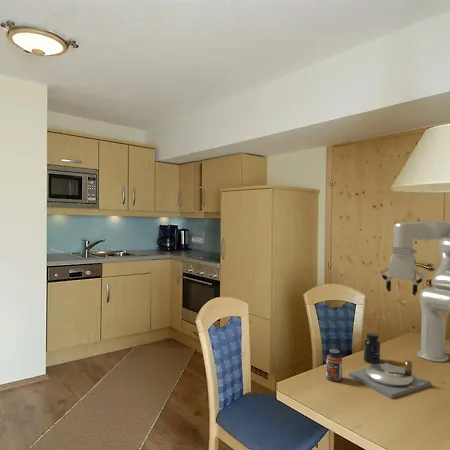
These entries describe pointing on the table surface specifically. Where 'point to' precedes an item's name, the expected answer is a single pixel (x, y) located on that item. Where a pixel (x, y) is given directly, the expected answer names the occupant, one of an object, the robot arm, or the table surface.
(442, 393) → the table surface
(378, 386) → the base plate
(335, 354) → the supplement bottle
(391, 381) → the dial
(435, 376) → the table surface
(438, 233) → the robot arm
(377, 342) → the supplement bottle
